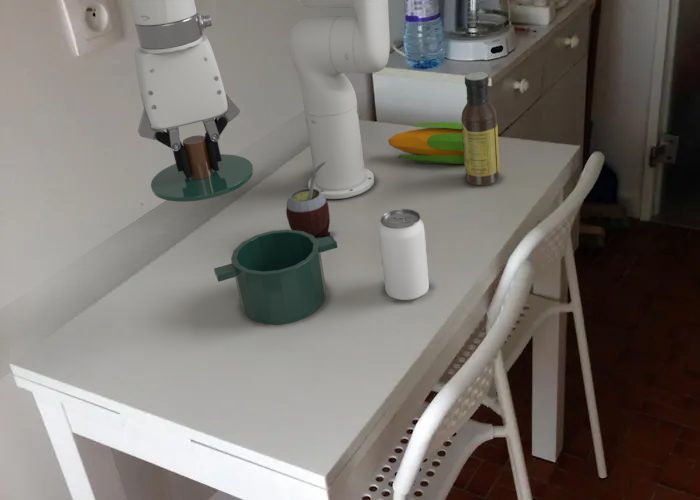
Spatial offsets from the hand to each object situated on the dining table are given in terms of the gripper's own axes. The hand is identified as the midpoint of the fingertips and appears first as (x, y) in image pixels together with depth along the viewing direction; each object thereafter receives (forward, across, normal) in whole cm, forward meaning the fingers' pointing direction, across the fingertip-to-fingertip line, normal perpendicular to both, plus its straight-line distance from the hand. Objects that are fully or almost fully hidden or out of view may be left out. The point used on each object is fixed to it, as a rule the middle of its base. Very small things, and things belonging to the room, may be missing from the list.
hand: (200, 169), depth 107 cm
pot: (+23, -8, 0) cm, 25 cm away
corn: (+23, -49, -32) cm, 64 cm away
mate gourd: (+24, -18, -16) cm, 34 cm away
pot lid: (+1, 0, 0) cm, 1 cm away
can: (+24, -25, +7) cm, 35 cm away
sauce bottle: (+23, -52, -20) cm, 60 cm away
